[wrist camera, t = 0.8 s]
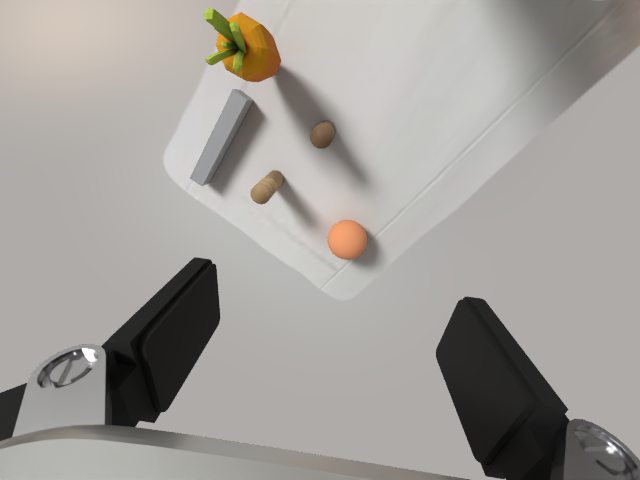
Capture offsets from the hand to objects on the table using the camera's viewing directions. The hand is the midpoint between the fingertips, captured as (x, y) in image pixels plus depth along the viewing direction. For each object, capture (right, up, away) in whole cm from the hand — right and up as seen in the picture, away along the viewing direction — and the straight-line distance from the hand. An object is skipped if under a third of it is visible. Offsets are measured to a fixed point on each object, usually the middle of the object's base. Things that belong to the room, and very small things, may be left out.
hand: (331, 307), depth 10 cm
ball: (+4, +3, +29) cm, 30 cm away
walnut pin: (0, +18, +25) cm, 31 cm away
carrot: (-6, +25, +22) cm, 34 cm away
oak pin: (-7, +12, +29) cm, 32 cm away
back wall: (-14, +17, +27) cm, 35 cm away
